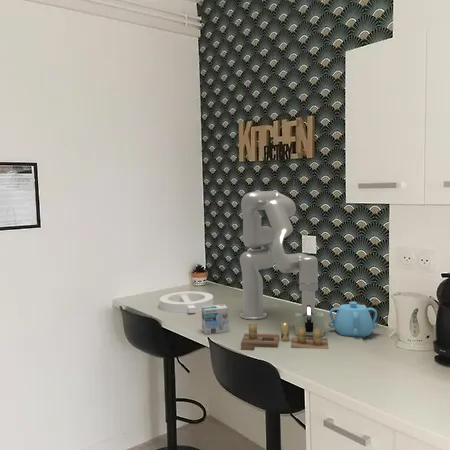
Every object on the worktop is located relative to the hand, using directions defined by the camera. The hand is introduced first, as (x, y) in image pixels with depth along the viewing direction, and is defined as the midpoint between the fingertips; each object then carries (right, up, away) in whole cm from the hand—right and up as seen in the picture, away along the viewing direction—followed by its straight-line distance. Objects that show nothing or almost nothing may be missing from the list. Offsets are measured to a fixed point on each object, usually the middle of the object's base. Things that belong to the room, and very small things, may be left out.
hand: (309, 328), depth 201 cm
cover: (0, -2, 0) cm, 2 cm away
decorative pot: (+19, -3, +1) cm, 19 cm away
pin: (-11, -4, -7) cm, 13 cm away
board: (-2, -4, -12) cm, 12 cm away
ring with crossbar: (-55, 0, +56) cm, 78 cm away
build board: (-21, -5, -8) cm, 23 cm away
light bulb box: (-39, -4, +11) cm, 40 cm away
